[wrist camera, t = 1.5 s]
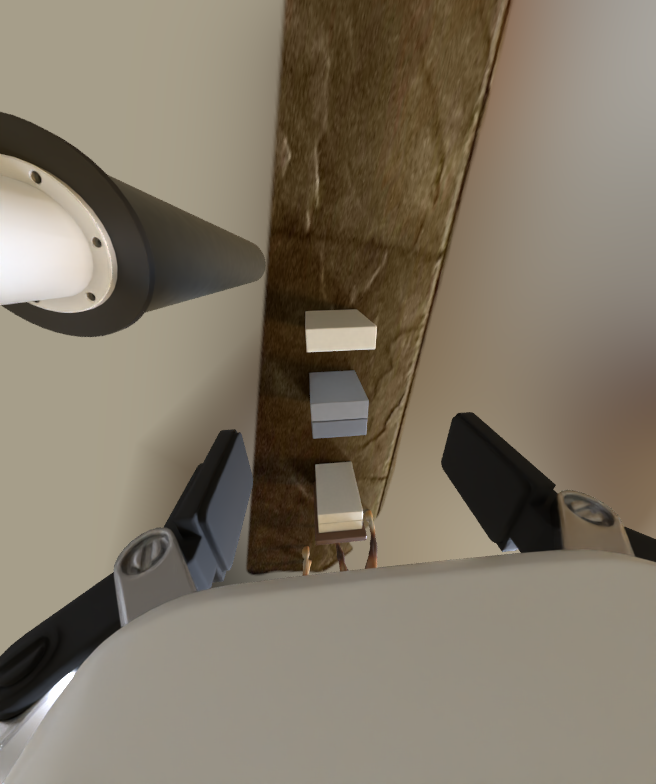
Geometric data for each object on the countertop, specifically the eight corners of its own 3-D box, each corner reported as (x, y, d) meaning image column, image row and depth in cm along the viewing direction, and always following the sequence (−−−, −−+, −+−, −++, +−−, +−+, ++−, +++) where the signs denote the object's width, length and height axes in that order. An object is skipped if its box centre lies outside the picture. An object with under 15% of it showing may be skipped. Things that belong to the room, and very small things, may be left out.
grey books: (311, 402, 33) (312, 438, 26) (309, 372, 31) (310, 403, 24) (353, 399, 33) (366, 435, 26) (354, 370, 31) (368, 400, 24)
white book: (306, 328, 28) (306, 352, 20) (305, 311, 27) (305, 329, 19) (355, 326, 28) (375, 349, 21) (356, 309, 28) (377, 326, 20)
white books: (313, 485, 41) (315, 545, 32) (312, 464, 38) (314, 522, 30) (353, 482, 41) (366, 540, 32) (354, 461, 39) (368, 517, 30)
